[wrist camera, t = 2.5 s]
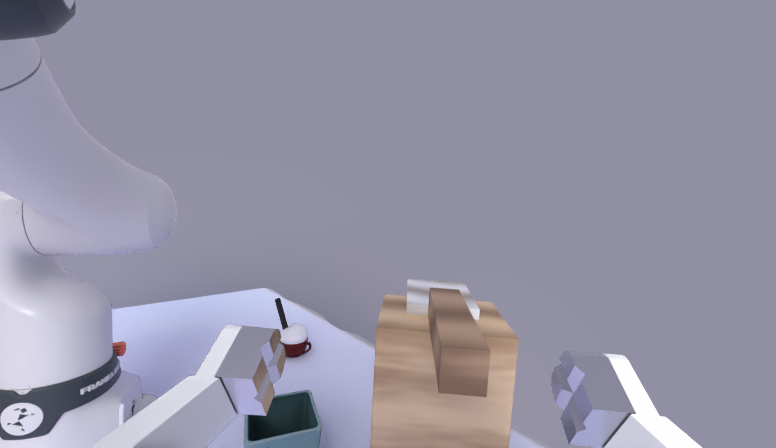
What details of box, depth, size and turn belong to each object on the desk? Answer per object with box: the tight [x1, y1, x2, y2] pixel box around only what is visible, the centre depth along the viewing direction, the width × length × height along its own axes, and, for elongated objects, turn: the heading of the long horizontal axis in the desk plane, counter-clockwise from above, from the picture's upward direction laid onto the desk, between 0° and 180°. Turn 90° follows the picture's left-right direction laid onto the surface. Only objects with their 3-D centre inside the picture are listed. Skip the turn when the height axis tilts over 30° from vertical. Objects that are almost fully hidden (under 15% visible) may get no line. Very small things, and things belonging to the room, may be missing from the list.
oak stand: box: [370, 294, 519, 448], centre depth 35 cm, size 10×12×26 cm
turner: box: [406, 279, 491, 397], centre depth 31 cm, size 23×7×3 cm, turn 176°
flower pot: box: [244, 390, 322, 448], centre depth 44 cm, size 9×9×9 cm
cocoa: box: [275, 298, 311, 357], centre depth 78 cm, size 10×6×12 cm, turn 47°
